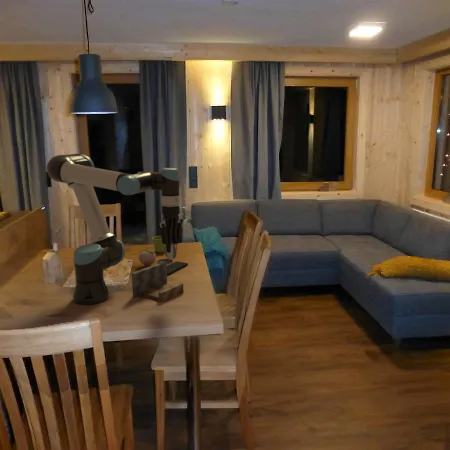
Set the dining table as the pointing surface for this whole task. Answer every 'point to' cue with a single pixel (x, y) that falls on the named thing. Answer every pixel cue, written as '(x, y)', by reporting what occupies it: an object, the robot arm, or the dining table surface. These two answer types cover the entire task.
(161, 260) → the pocket watch
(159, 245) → the plant pot
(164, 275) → the display stand
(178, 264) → the smart home device
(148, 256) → the decorative fruit
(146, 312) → the dining table surface
